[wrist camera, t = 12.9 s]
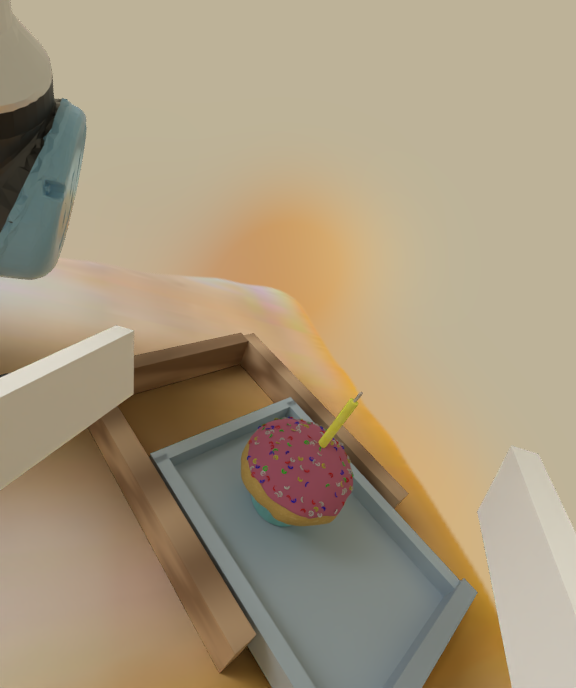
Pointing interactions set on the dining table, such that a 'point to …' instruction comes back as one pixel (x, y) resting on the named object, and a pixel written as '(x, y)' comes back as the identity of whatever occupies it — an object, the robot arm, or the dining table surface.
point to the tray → (317, 571)
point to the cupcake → (298, 470)
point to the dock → (162, 510)
